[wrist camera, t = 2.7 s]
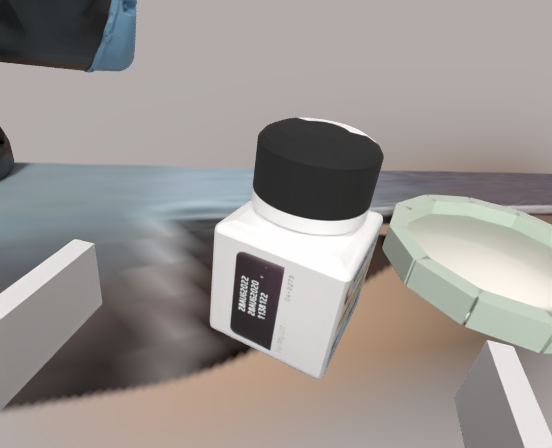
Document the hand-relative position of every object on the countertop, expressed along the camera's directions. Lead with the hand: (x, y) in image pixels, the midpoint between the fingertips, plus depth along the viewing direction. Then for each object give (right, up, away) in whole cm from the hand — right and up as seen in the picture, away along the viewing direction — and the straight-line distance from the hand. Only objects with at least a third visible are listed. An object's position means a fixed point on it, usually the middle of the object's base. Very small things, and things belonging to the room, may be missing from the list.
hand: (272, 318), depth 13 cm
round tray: (+19, -1, +21) cm, 29 cm away
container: (+1, -3, +13) cm, 14 cm away
